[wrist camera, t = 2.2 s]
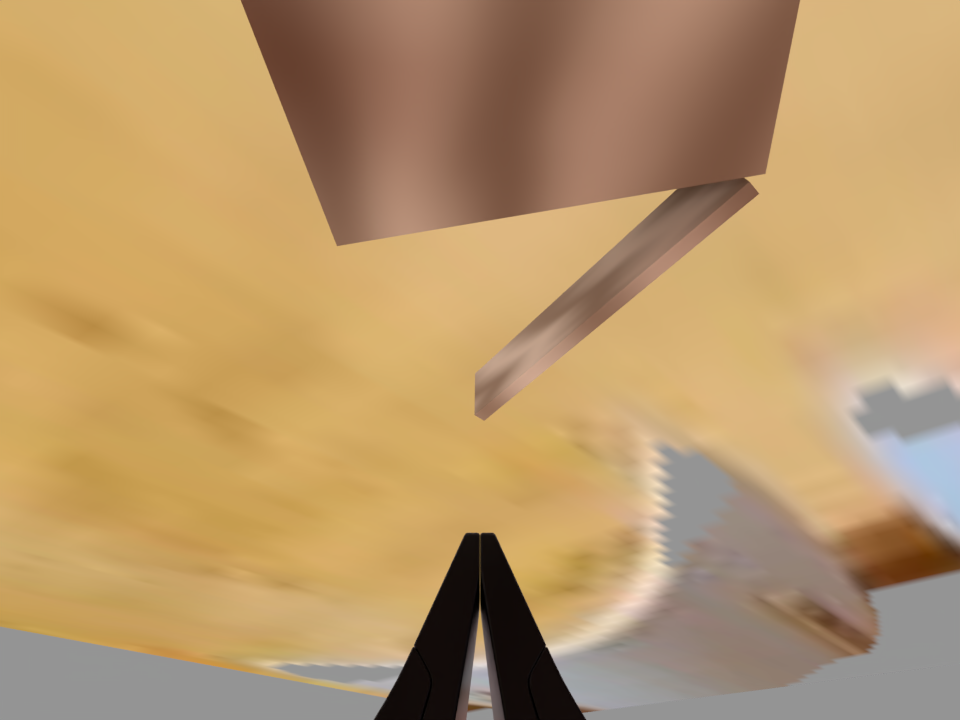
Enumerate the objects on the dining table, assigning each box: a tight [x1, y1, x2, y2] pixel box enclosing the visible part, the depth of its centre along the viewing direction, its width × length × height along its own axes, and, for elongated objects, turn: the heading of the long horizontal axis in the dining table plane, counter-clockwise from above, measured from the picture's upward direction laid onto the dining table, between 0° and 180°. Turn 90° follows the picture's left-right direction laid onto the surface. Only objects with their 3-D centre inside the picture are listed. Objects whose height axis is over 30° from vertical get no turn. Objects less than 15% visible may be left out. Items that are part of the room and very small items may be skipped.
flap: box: [474, 178, 759, 421], centre depth 20 cm, size 14×1×3 cm, turn 140°
